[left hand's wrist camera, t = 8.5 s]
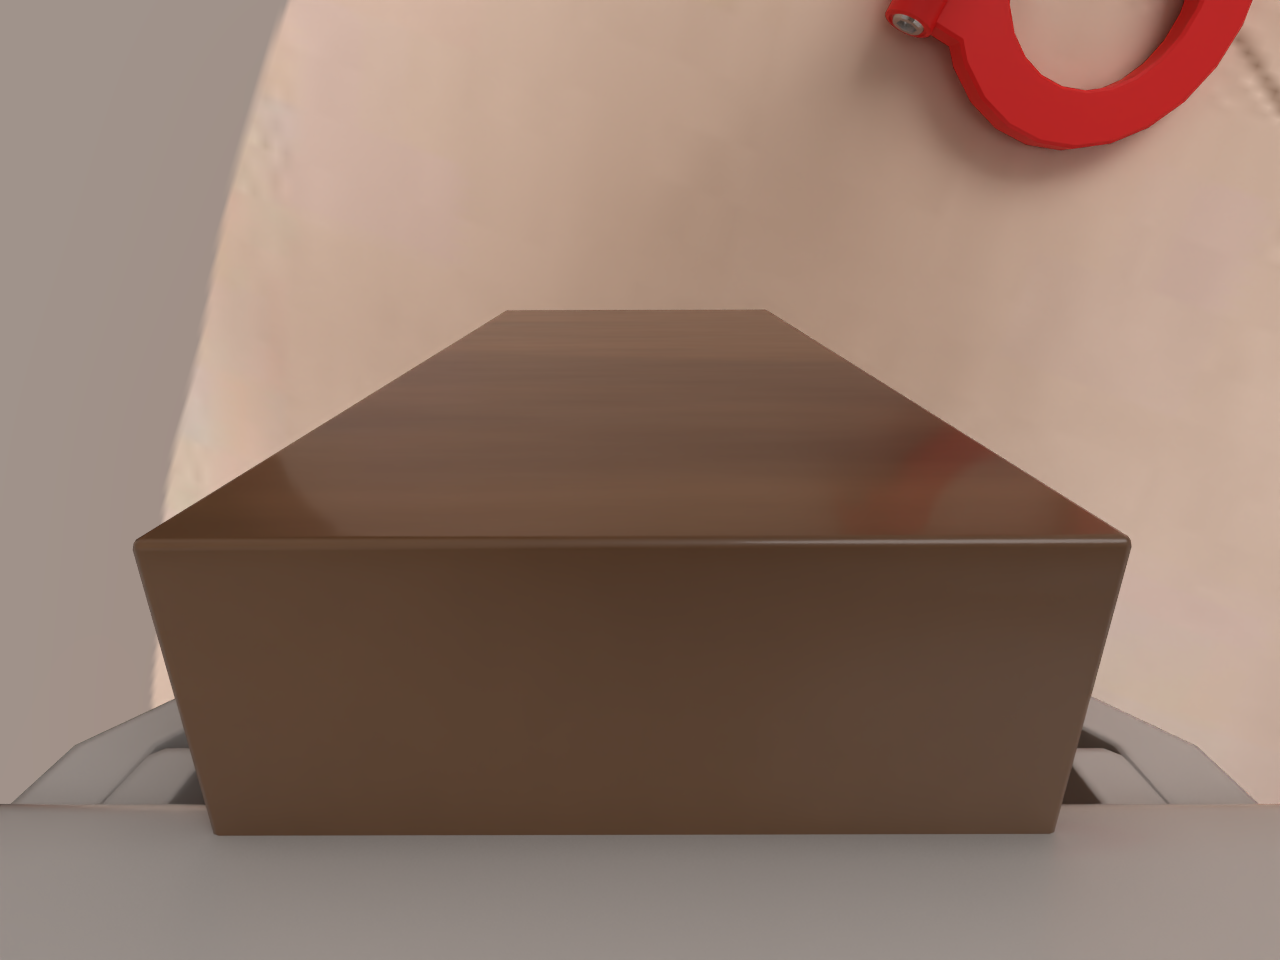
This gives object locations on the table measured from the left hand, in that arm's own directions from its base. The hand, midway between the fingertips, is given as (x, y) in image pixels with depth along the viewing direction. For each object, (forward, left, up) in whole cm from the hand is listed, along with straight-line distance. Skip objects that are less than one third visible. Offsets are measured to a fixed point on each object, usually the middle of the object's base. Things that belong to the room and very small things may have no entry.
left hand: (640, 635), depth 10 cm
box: (+7, 0, -7) cm, 10 cm away
